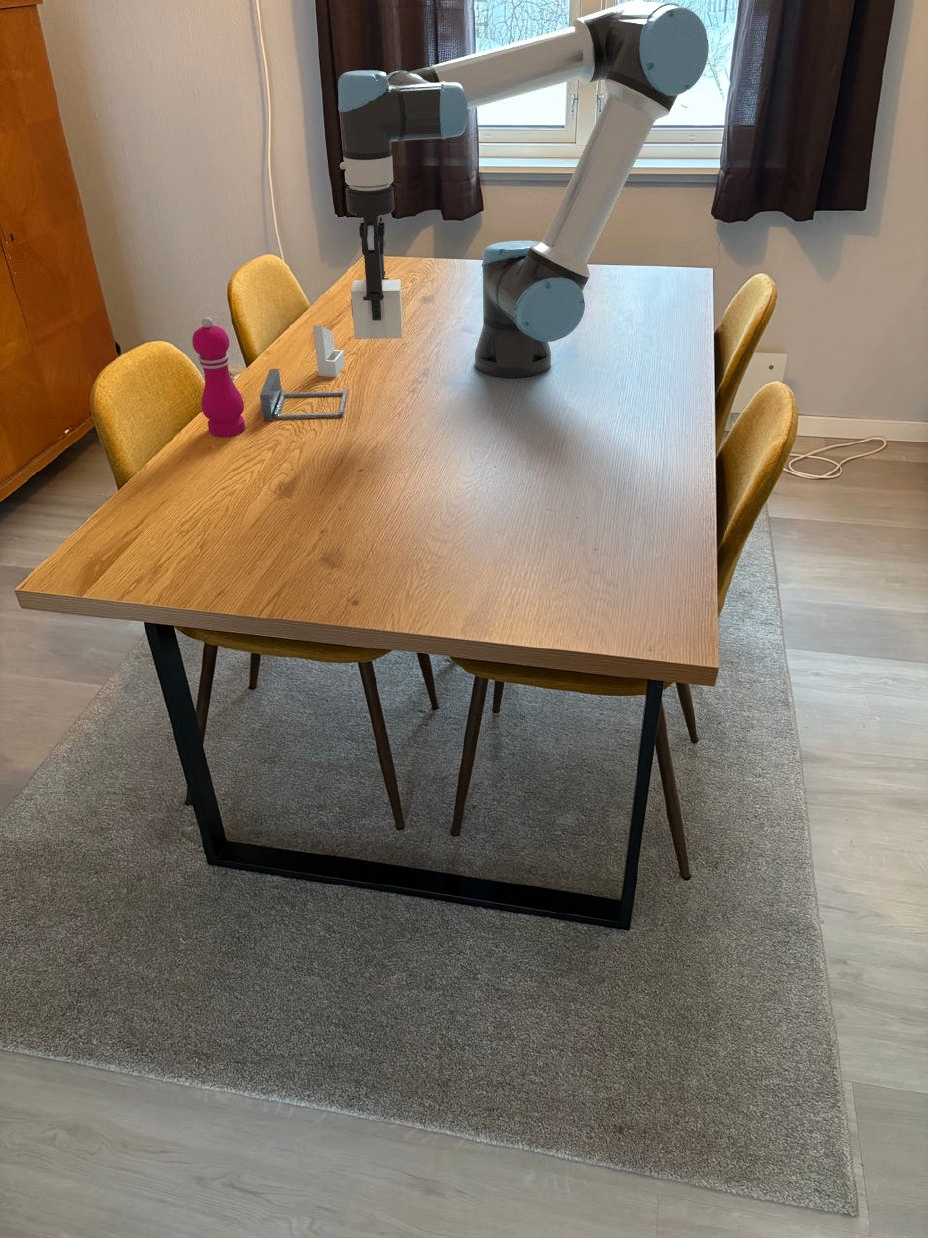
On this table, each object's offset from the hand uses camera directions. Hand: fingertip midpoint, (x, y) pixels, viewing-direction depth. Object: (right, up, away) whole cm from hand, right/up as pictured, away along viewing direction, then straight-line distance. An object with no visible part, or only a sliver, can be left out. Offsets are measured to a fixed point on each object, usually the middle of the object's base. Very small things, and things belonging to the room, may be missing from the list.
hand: (379, 330), depth 161 cm
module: (0, 0, 0) cm, 0 cm away
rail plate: (-13, -10, +12) cm, 21 cm away
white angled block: (-12, 0, +26) cm, 28 cm away
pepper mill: (-27, -16, +5) cm, 32 cm away
